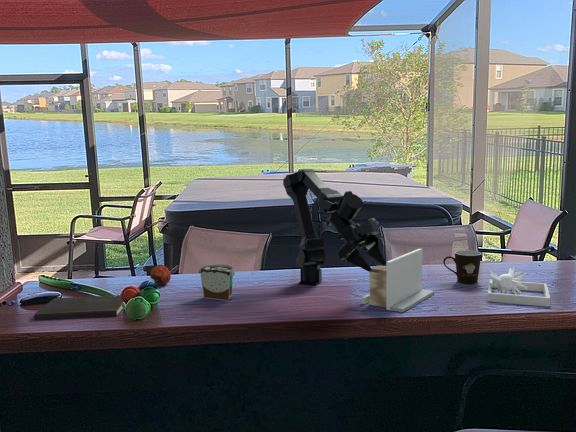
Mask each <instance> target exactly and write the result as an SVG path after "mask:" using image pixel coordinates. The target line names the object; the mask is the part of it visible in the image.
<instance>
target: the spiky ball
mask: <svg viewBox="0 0 576 432" xmlns="http://www.w3.org/2000/svg"><path fill="white" fill-rule="evenodd" d="M487 271H488V272H485V273H486V274H487V275H488V277H489V278H490V280H492V284H491V283H490V281H488V282H487V283H488V287H489V286H490V288H491V290H492V291H493V288H492V287H496V285H497V284H498V288H497V293H498V292H499V293H500V292H501V294H508V291H511V292H512V293H514V295H518V294H517V292H518V293H519V294H520V295H523V292H522V290H519V289H518V288H517V287H523V288H525V289H526V288H528V287H526V286H524V285H523V284H522V283H520V282H522V281H523V278H522V277H524V276H526V275H528V272H525V273H523V272H524V270H523V269H522V270H520V271H516V272H515V267H513V268H511V267H509V270H508V273H503V274H500V275H499V276H498V274H496V273H495V272H493V271H492V270H489V269H488V270H487ZM517 281H518V282H517ZM494 283H495V285H494ZM516 291H517V292H516Z"/></svg>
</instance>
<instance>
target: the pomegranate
mask: <svg viewBox="0 0 576 432" xmlns="http://www.w3.org/2000/svg"><path fill="white" fill-rule="evenodd" d="M168 267H169V265H168V264H167V265H165V266H164V265H156V266H154V267H152V268H151V269H150V273H149V274H150V275H149V276H150V277H149V278H150V279H152V280H153V281H154V283H153V284H154V285H155V284H157V285H162V286H165V285H167V284H168V283H169V282H170V281H171V277H172V273H171V271H170V270H169V268H168Z"/></svg>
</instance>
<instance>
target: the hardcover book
mask: <svg viewBox="0 0 576 432" xmlns="http://www.w3.org/2000/svg"><path fill="white" fill-rule="evenodd" d="M121 295H122V294H121ZM121 295H118V294H117V295H115V296H116V298H114V297H110V296H111V295H98V296H79V297H78V296H77V297H55V298H53V299H52V300H50V301H49V302H48V303H47V304H45V305H44V306H43V307H42V308H40V309H39V310H37V312H35V313H34V315H33V318H34V321H47V320H68V319H69V320H70V319H71V320H72V319H89V318H90V319H92V318H110V317H112V318H113V317H118V314H119V313H120V312H121V310H122V309H123V308H124V307H122V304H123V302H124V300H123V299H122V298H121Z"/></svg>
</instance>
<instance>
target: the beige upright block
mask: <svg viewBox="0 0 576 432" xmlns="http://www.w3.org/2000/svg"><path fill="white" fill-rule="evenodd" d="M371 269H372V270H371V271H370V272H369V293H370V302H369V305H371V306H374V307H381V308H386V265H379V264H377V265H374V266H372V267H371Z"/></svg>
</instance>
